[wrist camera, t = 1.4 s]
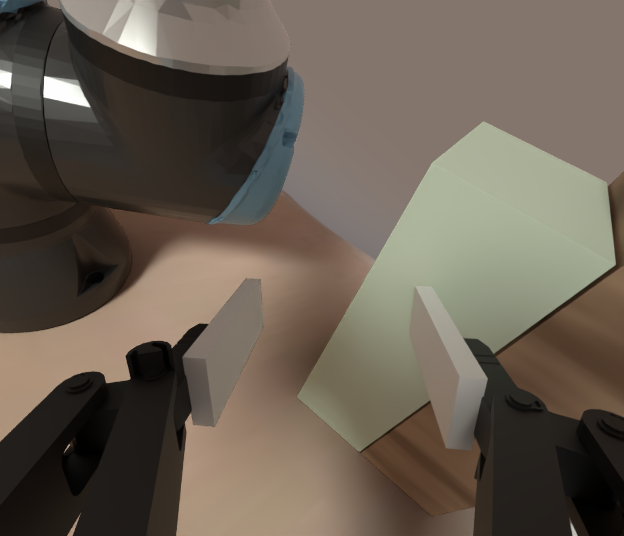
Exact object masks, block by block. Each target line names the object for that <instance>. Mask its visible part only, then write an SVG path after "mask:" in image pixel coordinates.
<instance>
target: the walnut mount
mask: <svg viewBox="0 0 624 536" xmlns="http://www.w3.org/2000/svg"><path fill="white" fill-rule="evenodd" d="M608 196H609V205H610V215H611V224H612V233H613V243H614V252H615V261H616V265H615V266H613V267H612V268H611V269H609V270H608V271H607V272H605V273H604V274H602V275H601V276H600V277H598V278H597V279H596V280H594V281H593V282H591V283H590V284H589V285H587V286H586V287H585V288H583V289H582V290H580V291H579V292H578V293H576V294H575V295H574V296H572V297H571V298H570V299H568V300H567V301H565V302H564V303H563V304H561V305H560V306H559V307H557V308H556V309H554V310H553V311H552V312H550V313H549V314H548V315H546V316H545V317H543V318H542V319H541V320H539V321H538V322H537V323H535V324H534V325H532V326H531V327H530V328H528V329H527V330H526V331H524V332H523V333H522V334H520V335H519V336H517V337H516V338H515V339H513V340H512V341H511V342H509V343H508V344H506V345H505V346H504V347H502V348H501V349H500V350H498V351H497V352H495V353H494V355H495V357H496V358H497V359H498V361H499V362H500V365H502V366H503V368H504V369H505V370H506V372H507V373H508V375H509V376H510V378H511V379H512V380H513V382H514V383H515V385H516V386H517V387H518V388H520V389H523V390H525V391H528V392H530V393H532V394H533V395H535V396H537V397H538V398H539V399H540V400H541V401H542V402H543V403H545V405H546V407H547V409H548V411H550V412H553V413H556V414H559V415H563V416H566V417H570V418H573V419H577V420H580V419H581V417H582V414H583V412H584V411H586V410H588V409H601V410H605V411H609V412H612V413H615V414H617V415H620V416H622V417H624V172H623V173H622V174H621V175H620V176H619V177H618V178H616V179H615V180H614V181H613V182H612V183H611V184H610V185H609V186H608ZM480 451H481V450H480V448H479V445H478V443H477V441H476V438H475V436H474V441H473V445H472V449H471V451H470V450H459V449H448V448H446V447H445V444H444V441H443V438H442V435H441V432H440V428H439V425H438V422H437V419H436V416H435V413H434V410H433V407H432V404H431V401H428V402H427V403H426V404H424V405H423V406H421V407H420V408H419V409H417V410H416V411H415V412H413V413H412V414H411V415H409V416H408V417H406V418H405V419H404V420H402V421H401V422H400V423H398V424H397V425H395V426H394V427H393V428H391V429H390V430H389V431H387V432H386V433H384V434H383V435H382V436H380V437H379V438H378V439H376V440H375V441H374V442H372V443H371V444H369V445H368V446H367V447H365V448H364V449H363V450H362V452H361V454H362V455H363V456H364V457H365V458H367V459H368V460H369V461H370V462H371V463H372V464H373V465H374V466H376V467H377V468H378V469H379V470H380V471H381V472H382V473H383V474H385V475H386V476H387V477H388V478H389V479H390V480H391V481H392V482H394V483H395V484H396V485H397V486H398V487H399V488H400V489H402V490H403V491H404V492H405V493H406V494H407V495H408V496H409V497H411V498H412V499H413V500H414V501H415V502H416V503H417V504H418V505H420V506H421V507H422V508H423V509H424V510H425V511H426V512H428V513H429V514H430V515H431V516H436V515H440V514H445V513H449V512H453V511H458V510H462V509H466V508H471V507H475V503H476V487H477V479H474V475H475V471H476V467H477V463H478V459H479V455H480Z"/></svg>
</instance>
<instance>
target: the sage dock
mask: <svg viewBox="0 0 624 536" xmlns="http://www.w3.org/2000/svg"><path fill="white" fill-rule="evenodd" d="M615 265H616V261H615V252H614V243H613V233H612V224H611V215H610V205H609V196H608V187H607V182H605V181H602V180H601V179H599V178H597V177H595V176H593V175H591V174H589V173H586V172H585V171H582V170H581V169H578V168H577V167H575V166H573V165H570V164H568V163H566V162H564V161H562V160H560V159H558V158H556V157H554V156H552V155H550V154H548V153H546V152H544V151H542V150H540V149H538V148H536V147H534V146H532V145H530V144H528V143H526V142H524V141H522V140H520V139H518V138H516V137H514V136H512V135H510V134H508V133H506V132H504V131H502V130H500V129H498V128H496V127H494V126H492V125H490V124H488V123H486V122H482V123H481V124H480V125H479V126H477V127H476V128H475V129H474V130H472V131H471V132H470V133H469V134H467V135H466V136H465V137H464V138H463V139H461V140H460V141H459V142H457V144H455V145H454V146H452V147H451V148H450V149H449V150H448V151H446V152H445V153H444V154H443V155H441V156H440V157H439V158H438V159H436V160H435V161H434V162H433V163H432V165H431V166H430V168H429V170H428V171H427V173H426V175H425V177H424V178H423V180H422V182H421V184H420V185H419V187H418V189H417V190H416V192H415V194H414V195H413V197H412V199H411V201H410V202H409V204H408V206H407V208H406V209H405V211H404V213H403V214H402V216H401V218H400V220H399V221H398V223H397V225H396V227H395V228H394V230H393V232H392V234H391V235H390V237H389V239H388V240H387V242H386V244H385V245H384V247H383V249H382V251H381V253H380V254H379V256H378V258H377V259H376V261H375V263H374V264H373V266H372V268H371V270H370V271H369V273H368V275H367V277H366V278H365V280H364V282H363V283H362V285H361V287H360V289H359V290H358V292H357V294H356V295H355V297H354V299H353V301H352V302H351V304H350V306H349V308H348V309H347V311H346V313H345V314H344V316H343V318H342V320H341V321H340V323H339V325H338V327H337V328H336V330H335V332H334V333H333V335H332V337H331V339H330V340H329V342H328V344H327V345H326V347H325V349H324V351H323V352H322V354H321V356H320V358H319V359H318V361H317V363H316V364H315V366H314V368H313V370H312V371H311V373H310V375H309V377H308V378H307V380H306V382H305V383H304V385H303V387H302V389H301V390H300V392H299V394H298V396H297V398H298V399H300V400H301V401H302V402H303V403H304V404H305V405H306V406H307V407H309V408H310V409H311V410H312V411H313V412H314V413H315V414H317V415H318V416H319V417H320V418H321V419H322V420H323V421H324V422H326V423H327V424H328V425H329V426H330V427H331V428H332V429H333V430H335V431H336V432H337V433H338V434H339V435H340V436H341V437H342V438H344V439H345V440H346V441H347V442H348V443H349V444H350V445H352V446H353V447H354V448H355V449H356V450H357V451H358V452H360V451H361V450H363V449H364V448H365V447H367V446H368V445H369V444H371V443H372V442H374V441H375V440H376V439H378V438H379V437H380V436H382V435H383V434H384V433H386V432H387V431H389V430H390V429H391V428H393V427H394V426H395V425H397V424H398V423H400V422H401V421H402V420H404V419H405V418H406V417H408V416H409V415H411V414H412V413H413V412H415V411H416V410H417V409H419V408H420V407H421V406H423V405H424V404H426V403H427V402H428V401H430V398H429V395H428V392H427V389H426V385H425V382H424V379H423V376H422V373H421V370H420V367H419V364H418V361H417V358H416V355H415V352H414V349H413V346H412V342H411V339H410V336H409V334H410V325H411V317H412V309H413V301H414V292H415V286H430V287H432V288H433V289H434V291H435V293H436V294H437V296H438V298H439V299H440V301H441V303H442V304H443V306H444V308H445V309H446V311H447V313H448V314H449V316H450V317H451V319H452V321H453V322H454V324H455V326H456V327H457V329H458V331H459V332H460V334H461V336H462V337H463V338H471V339H479V340H480V341H481V342H483V343H484V344H485V345H487V346H488V347H489V348H490V349H491V351H492V352H493V354H494V353H495V352H497V351H498V350H500V349H501V348H502V347H504V346H505V345H506V344H508V343H509V342H511V341H512V340H513V339H515V338H516V337H517V336H519V335H520V334H522V333H523V332H524V331H526V330H527V329H528V328H530V327H531V326H532V325H534V324H535V323H537V322H538V321H539V320H541V319H542V318H543V317H545V316H546V315H548V314H549V313H550V312H552V311H553V310H554V309H556V308H557V307H559V306H560V305H561V304H563V303H564V302H565V301H567V300H568V299H570V298H571V297H572V296H574V295H575V294H576V293H578V292H579V291H580V290H582V289H583V288H585V287H586V286H587V285H589V284H590V283H591V282H593V281H594V280H596V279H597V278H598V277H600V276H601V275H602V274H604V273H605V272H607V271H608V270H609V269H611V268H612V267H613V266H615Z"/></svg>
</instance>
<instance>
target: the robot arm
mask: <svg viewBox="0 0 624 536" xmlns="http://www.w3.org/2000/svg"><path fill="white" fill-rule="evenodd" d="M59 3H60V7H61V9H58V8H54V7H51V6H50V5H48V4H47V0H0V333H21V332H31V331H38V330H43V329H47V328H52V327H55V326H59V325H62V324H65V323H68V322H71V321H73V320H76V319H78V318H80V317H82V316H84V315H86V314H88V313H90V312H92V311H94V310H95V309H97V308H98V307H100V306H101V305H103V304H104V303H105V302H107V301H108V300H109V299H110V298H112V297H113V296H114V295H115V294H116V293H117V292H118V290H119V289H120V288H121V287H122V286H123V284H124V283H125V281H126V279H127V277H128V275H129V273H130V270H131V265H132V255H131V250H130V245H129V241H128V237H127V235H126V233H125V231H124V229H123V227H122V226H121V225H120V223H119V222H118V221H117V219H116V218H115V217H114V215H113V214H112V213H111V211H110V210H109V209H108V208H113V209H120V210H126V211H133V212H139V213H145V214H152V215H158V216H165V217H171V218H177V219H184V220H190V221H197V222H203V223H205V224H211V225H214V224H218V223H221V224H234V225H253V224H256V223H258V222H260V221H261V220H263V219H264V218H265V217H266V216H267V215H268V214H269V212H270V211H271V210H272V208H273V206H274V204H275V203H276V201H277V199H278V196H279V194H280V192H281V190H282V187H283V184H284V181H285V179H286V176H287V173H288V170H289V167H290V164H291V160H292V157H293V153H294V146H293V144H294V142H295V141H296V138H297V135H298V132H299V128H300V124H301V119H302V113H303V105H304V84H303V80H302V78H301V76H300V75H299V74H297V73H296V72H294V70H293V69H292V68H291V67H287V61H288V56H289V50H290V39H289V37H288V34H287V32H286V30H285V28H284V27H283V25H282V23H281V21H280V19H279V17H278V15H277V14H276V12H275V10H274V8H273V6H272V4H271V0H59ZM262 329H263V311H262V294H261V279H245V280H244V282H243V283H242V284H241V285H240V286H239V288H238V289H237V290H236V291H235V293H234V294H233V295H232V296H231V298H230V299H229V300H228V301H227V302H226V304H225V305H224V306H223V307H222V309H221V310H220V311H219V312H218V314H217V315H216V316H215V317H214V319H213V320H212V321H211V322H210V323H209V324H198V325H196V326H194V327H193V328H191V329H189V330H188V331H187V332H186V334H185V335H184V336H183V337H182V338H181V339H180V340H179V341H178V342H177V345H175V346H174V347H173V348H171V345H170V344H169V343H168V342H164V341H151V342H147V343H143V344H141V345H139V346H136V347H135V348H133V349H132V350H130V351H129V352H128V353H127V355H126V360H127V364H128V369H129V373H130V377H131V379H130V380H127V381H120V382H113V383H106V381H105V377H104V375H103V374H102V373H100V372H93V371H92V372H85V373H80V374H77V375H74V376H72V377H71V378H69V379H67V380H65V381H63V382H62V383H61V384H59V385H58V386H57V387H56V388H55V389H54V390H53V391H52V392H51V393H50V394H49V395H48V396H47V397H46V398H45V399H44V400H43V401H42V402H41V403H40V404H39V405H37V406H36V407H35V408H34V409H33V410H32V411H31V412H30V413H29V414H28V415H27V416H26V417H25V418H24V419H23V420H22V421H21V422H20V423H19V424H18V425H17V426H16V427H15V428H14V429H13V430H12V431H11V432H10V433H9V434H8V435H7V436H6V437H5V438H4V439H3V440H2V441H1V442H0V536H67V535H68V533H69V532H70V530H71V528H72V527H73V525H74V523H75V522H76V520H77V518H78V517H79V515H80V513H81V515H80V517H79V520H78V523H77V525H76V528H75V531H74V534H73V536H176V531H177V521H178V511H179V501H180V491H181V481H182V471H183V461H184V451H185V441H186V427H185V421H186V419H187V418H188V416H189V414H190V413H191V414H192V420H193V425H201V426H211V427H215V425H216V423H217V421H218V419H219V417H220V415H221V413H222V411H223V409H224V407H225V405H226V403H227V401H228V399H229V396H230V394H231V392H232V390H233V388H234V386H235V384H236V382H237V380H238V378H239V376H240V374H241V372H242V370H243V368H244V366H245V364H246V362H247V360H248V358H249V356H250V354H251V351H252V349H253V347H254V345H255V343H256V341H257V339H258V337H259V335H260V333H261V331H262ZM409 336H410V339H411V342H412V346H413V349H414V352H415V355H416V358H417V361H418V364H419V367H420V370H421V373H422V376H423V379H424V382H425V385H426V389H427V392H428V395H429V398H430V401H431V404H432V407H433V410H434V413H435V416H436V419H437V422H438V425H439V428H440V432H441V435H442V438H443V441H444V444H445V447H446V448H448V449H459V450H470V451H471V449H472V445H473V441H474V436H475V438H476V441H477V443H478V445H479V448H480V450H481V451H480V455H479V459H478V463H477V467H476V471H475V475H474V479H477V487H476V503H475V518H474V534H473V536H573V535H572V530H571V525H570V520H571V522H572V525H573V527H574V529H575V531H576V533H577V536H624V417H622V416H620V415H617V414H615V413H612V412H609V411H605V410H601V409H588V410H586V411H584V412H583V414H582V417H581V419H580V420H577V419H573V418H570V417H566V416H563V415H559V414H556V413H553V412H550V411H548V409H547V407H546V405H545V403H543V402H542V401H541V400H540V399H539V398H538V397H537V396H535V395H533V394H532V393H530V392H528V391H525V390H523V389H520V388H518V387H517V386H516V385H515V383H514V382H513V380H512V379H511V378H510V376H509V375H508V373H507V372H506V370H505V369H504V368H503V366H502V365H500V362H499V361H498V359H497V358H496V357H495V355H494V354H493V352H492V351H491V349H490V348H489V347H488V346H487V345H485V344H484V343H483V342H481V341H480V340H479V339H471V338H463V337H462V336H461V334H460V332H459V331H458V329H457V327H456V326H455V324H454V322H453V321H452V319H451V317H450V316H449V314H448V313H447V311H446V309H445V308H444V306H443V304H442V303H441V301H440V299H439V298H438V296H437V294H436V293H435V291H434V289H433V288H432V287H430V286H415V292H414V301H413V309H412V317H411V325H410V334H409ZM69 444H70V446H69V448H68V449H67V450H66V452H64V451H65V449H66V448H67V446H68V445H69ZM569 518H570V520H569Z"/></svg>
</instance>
